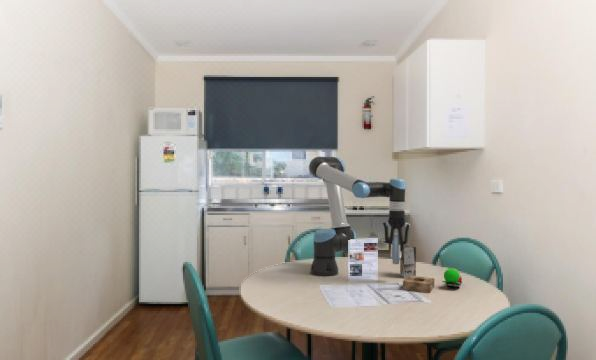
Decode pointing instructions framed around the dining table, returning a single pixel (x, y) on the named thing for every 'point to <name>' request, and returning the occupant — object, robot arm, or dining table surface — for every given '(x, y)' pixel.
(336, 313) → the dining table surface
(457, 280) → the toy
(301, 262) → the dining table surface
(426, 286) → the bead block
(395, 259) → the needle dowel
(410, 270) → the coffee box
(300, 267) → the dining table surface
